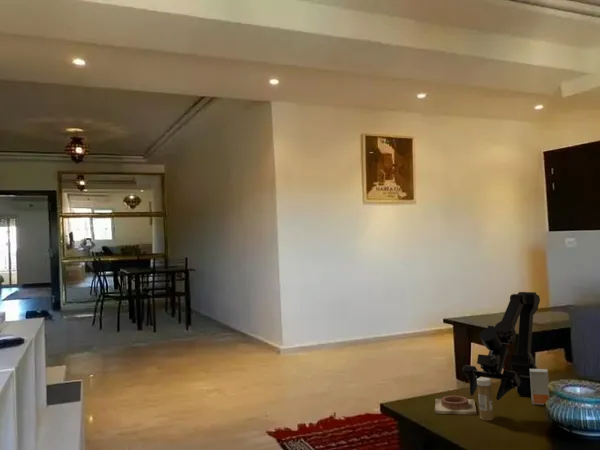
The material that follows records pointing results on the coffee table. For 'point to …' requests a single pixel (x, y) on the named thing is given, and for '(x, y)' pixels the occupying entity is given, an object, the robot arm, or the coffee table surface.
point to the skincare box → (539, 386)
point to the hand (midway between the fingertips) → (484, 397)
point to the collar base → (455, 405)
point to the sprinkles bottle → (485, 398)
